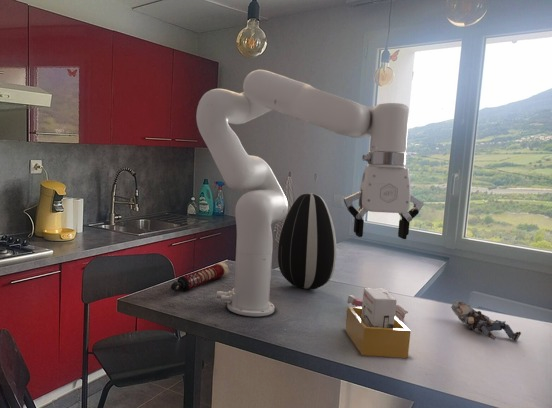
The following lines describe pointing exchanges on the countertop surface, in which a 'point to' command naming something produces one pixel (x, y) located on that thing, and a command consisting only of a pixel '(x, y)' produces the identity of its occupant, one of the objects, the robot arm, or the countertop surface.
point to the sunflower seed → (307, 243)
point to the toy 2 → (481, 321)
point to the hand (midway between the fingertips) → (380, 237)
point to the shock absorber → (201, 276)
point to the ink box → (378, 308)
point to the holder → (377, 336)
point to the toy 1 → (398, 312)
